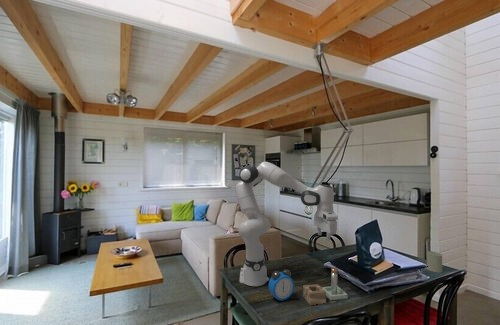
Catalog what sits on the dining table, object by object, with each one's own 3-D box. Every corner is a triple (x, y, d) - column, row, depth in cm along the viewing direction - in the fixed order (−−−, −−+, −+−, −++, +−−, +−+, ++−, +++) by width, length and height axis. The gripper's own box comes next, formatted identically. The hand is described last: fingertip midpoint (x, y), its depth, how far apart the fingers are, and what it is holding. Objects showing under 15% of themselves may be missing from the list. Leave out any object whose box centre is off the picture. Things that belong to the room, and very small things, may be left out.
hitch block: (302, 296, 139) (303, 285, 139) (317, 294, 141) (317, 284, 141) (310, 305, 130) (310, 293, 130) (325, 303, 132) (326, 292, 132)
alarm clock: (273, 303, 131) (273, 274, 132) (267, 297, 137) (268, 270, 137) (294, 298, 137) (294, 271, 137) (288, 293, 142) (288, 266, 142)
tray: (321, 291, 145) (321, 287, 145) (337, 289, 147) (337, 285, 147) (330, 300, 135) (330, 296, 135) (347, 298, 137) (347, 294, 137)
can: (437, 267, 181) (437, 250, 181) (445, 273, 172) (445, 255, 172) (423, 266, 182) (423, 250, 182) (431, 272, 173) (431, 254, 173)
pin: (330, 292, 142) (330, 268, 142) (335, 292, 143) (335, 267, 143) (333, 295, 139) (333, 270, 139) (338, 295, 139) (338, 269, 140)
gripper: (311, 209, 151) (310, 232, 152) (328, 217, 131) (327, 243, 132) (321, 209, 153) (319, 232, 153) (339, 217, 133) (338, 243, 133)
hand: (323, 237), depth 142 cm, fingers open, 8 cm apart
